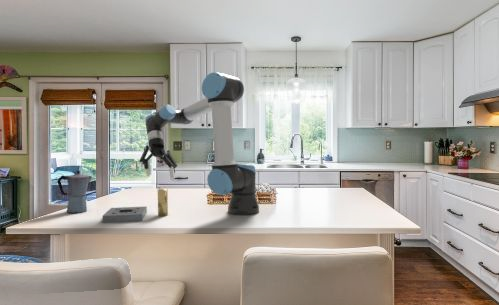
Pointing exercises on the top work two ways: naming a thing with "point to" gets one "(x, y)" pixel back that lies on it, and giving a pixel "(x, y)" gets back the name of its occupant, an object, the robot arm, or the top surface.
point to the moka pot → (76, 191)
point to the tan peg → (162, 202)
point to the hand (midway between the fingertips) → (161, 177)
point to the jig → (125, 214)
